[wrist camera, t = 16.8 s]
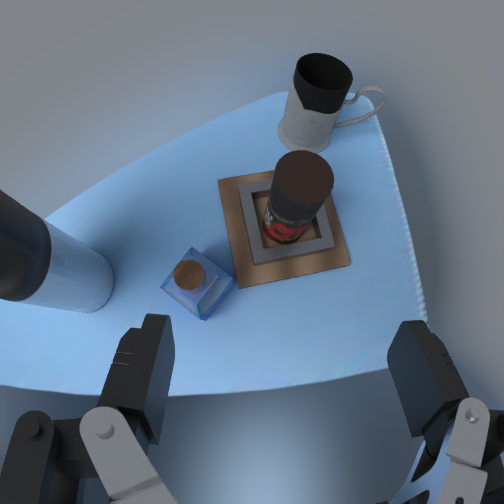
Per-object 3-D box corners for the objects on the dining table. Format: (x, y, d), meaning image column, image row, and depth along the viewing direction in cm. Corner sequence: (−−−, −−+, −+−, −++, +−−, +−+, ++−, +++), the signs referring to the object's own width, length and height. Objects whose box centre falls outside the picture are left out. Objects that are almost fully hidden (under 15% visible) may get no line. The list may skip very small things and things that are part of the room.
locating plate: (238, 288, 43) (239, 285, 40) (218, 182, 47) (216, 172, 43) (348, 265, 45) (356, 260, 41) (319, 167, 48) (324, 156, 45)
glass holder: (278, 109, 50) (291, 45, 36) (357, 121, 51) (388, 65, 36) (276, 151, 48) (291, 89, 34) (361, 163, 49) (399, 110, 34)
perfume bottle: (197, 257, 44) (184, 232, 32) (233, 284, 43) (232, 268, 32) (170, 292, 43) (146, 280, 31) (205, 320, 42) (194, 318, 30)
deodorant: (254, 220, 45) (261, 170, 30) (285, 196, 46) (306, 140, 31) (281, 253, 44) (302, 216, 29) (313, 227, 45) (345, 181, 30)
